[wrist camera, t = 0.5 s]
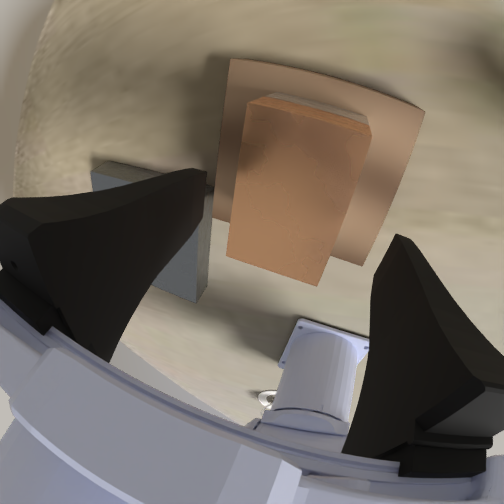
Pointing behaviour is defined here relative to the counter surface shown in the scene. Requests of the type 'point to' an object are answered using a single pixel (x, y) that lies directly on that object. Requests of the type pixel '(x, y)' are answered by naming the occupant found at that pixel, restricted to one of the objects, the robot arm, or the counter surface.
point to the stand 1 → (192, 252)
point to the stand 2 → (339, 95)
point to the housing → (294, 183)
